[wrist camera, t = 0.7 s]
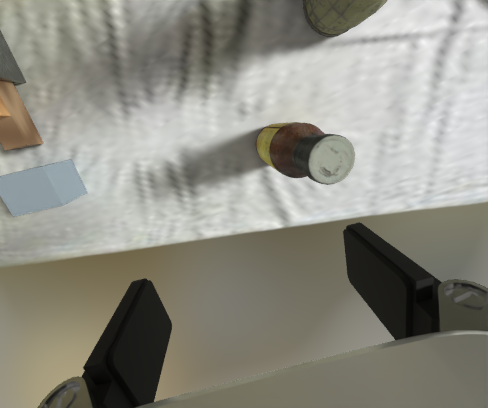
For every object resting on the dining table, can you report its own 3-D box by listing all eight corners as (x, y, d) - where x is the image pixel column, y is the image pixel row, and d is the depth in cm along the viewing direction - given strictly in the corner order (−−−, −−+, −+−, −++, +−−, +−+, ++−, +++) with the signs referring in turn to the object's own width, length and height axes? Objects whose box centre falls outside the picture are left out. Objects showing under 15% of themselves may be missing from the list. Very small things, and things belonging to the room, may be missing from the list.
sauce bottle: (267, 169, 38) (308, 216, 20) (247, 137, 36) (273, 154, 18) (301, 148, 38) (377, 175, 19) (283, 113, 35) (349, 106, 17)
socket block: (26, 169, 35) (-11, 178, 29) (71, 159, 35) (42, 166, 29) (45, 202, 37) (13, 216, 31) (87, 192, 37) (63, 205, 31)
